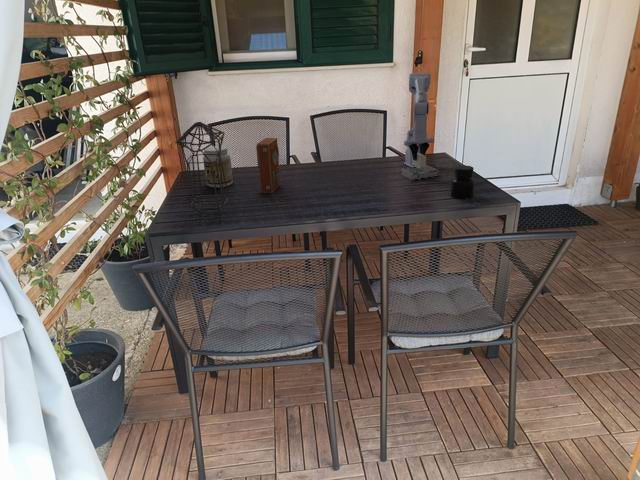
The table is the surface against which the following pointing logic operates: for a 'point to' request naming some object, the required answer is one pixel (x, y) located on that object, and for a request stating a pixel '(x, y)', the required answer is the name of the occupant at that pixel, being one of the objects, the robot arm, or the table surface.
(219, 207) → the geometric lantern
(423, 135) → the robot arm
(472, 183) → the ink bottle
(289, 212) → the table surface
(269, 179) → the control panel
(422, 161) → the beige rectangular block
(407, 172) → the rack
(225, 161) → the supplement tub
